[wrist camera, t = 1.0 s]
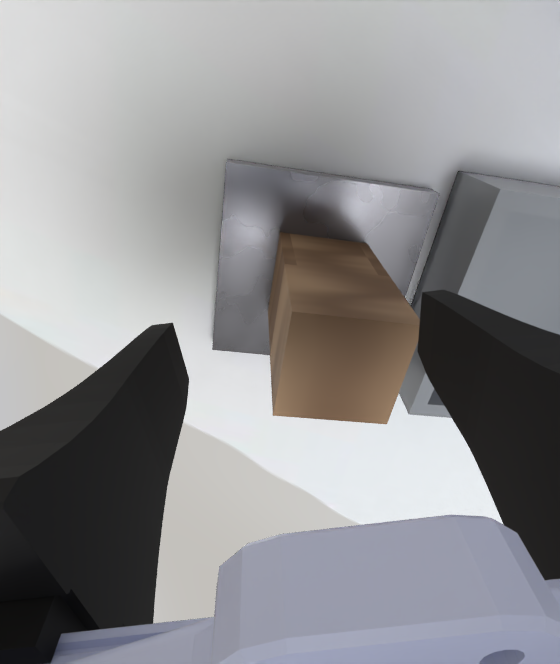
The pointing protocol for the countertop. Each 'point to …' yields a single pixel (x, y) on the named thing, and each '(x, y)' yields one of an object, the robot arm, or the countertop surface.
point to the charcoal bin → (492, 262)
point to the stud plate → (304, 219)
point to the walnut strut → (336, 332)
